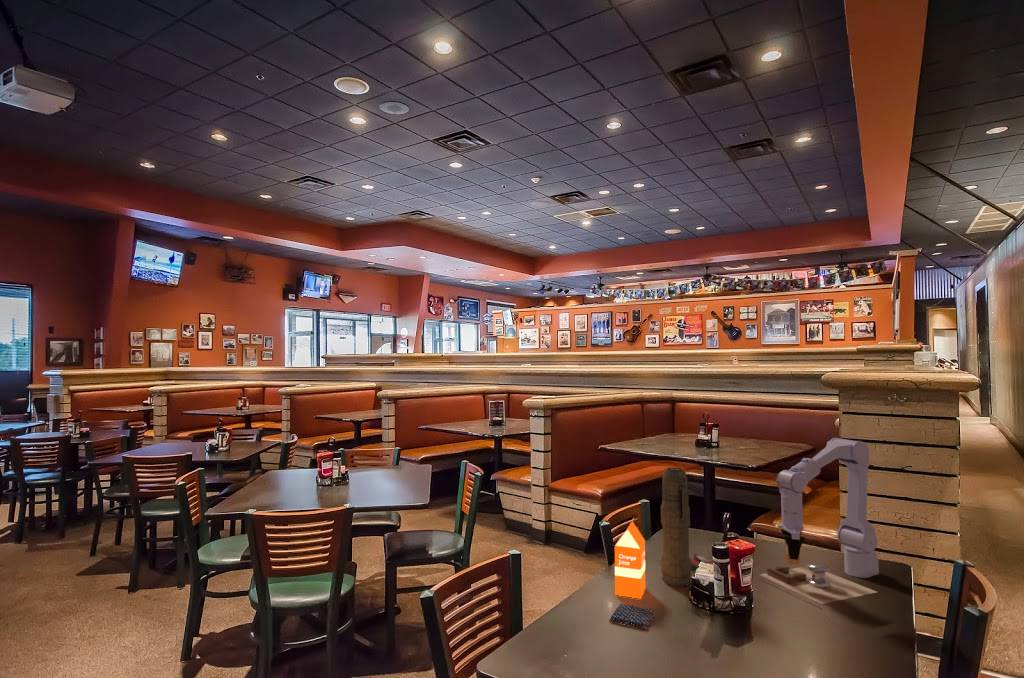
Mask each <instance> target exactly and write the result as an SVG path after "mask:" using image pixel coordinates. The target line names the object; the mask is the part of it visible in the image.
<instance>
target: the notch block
mask: <svg viewBox="0 0 1024 678" xmlns="http://www.w3.org/2000/svg"><path fill="white" fill-rule="evenodd" d="M789 569H790V566H788V565H780V566H774V567H767V568H766V571H767V575H769V576H771V577H773V578H775V579H777V580H780V581H782V582H784V583H786V584H792V583H797V582H802V581H806V574H805V573H796V574H791V575H786V574H788V573H789Z"/></svg>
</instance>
